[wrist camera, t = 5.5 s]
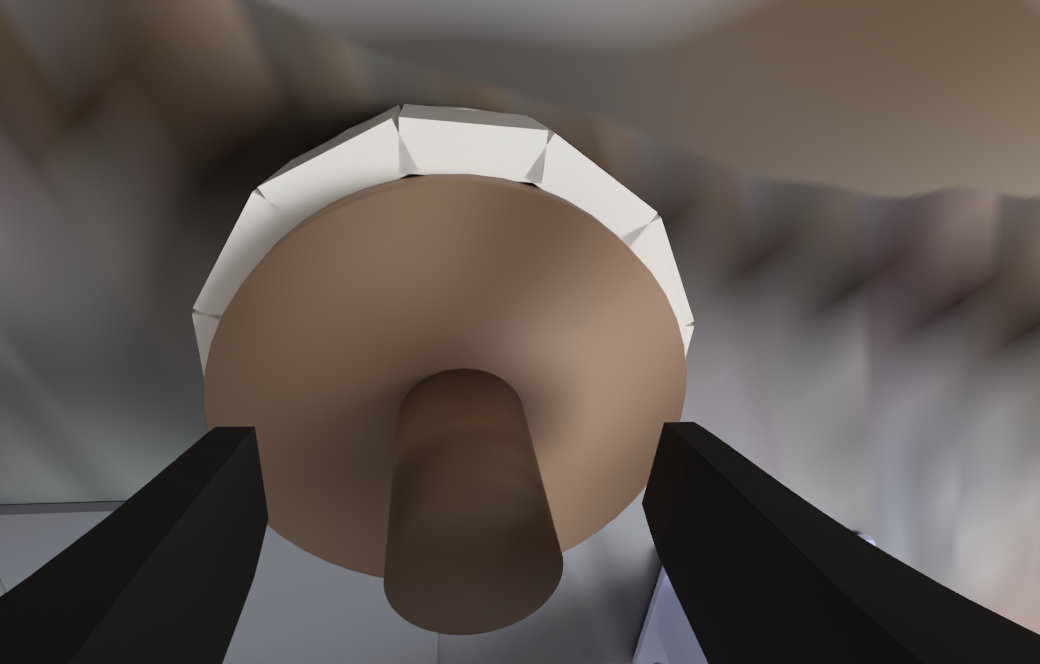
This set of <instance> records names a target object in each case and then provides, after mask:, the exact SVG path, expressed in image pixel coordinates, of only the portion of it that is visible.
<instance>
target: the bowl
mask: <svg viewBox="0 0 1040 664" xmlns="http://www.w3.org/2000/svg"><path fill="white" fill-rule="evenodd" d="M431 174H474V175H482V176H490V177H498V178H505V179H508V180H512V181H516V182H520V183H523V184H527V185H531V186H534V187H537V188H540V189H542V190H545V191H547V192H549V193H552V194H554V195H556V196H559V197H561V198H563V199H566V200H568V201H569V202H571V203H573V204H574V205H576V206H578V207H579V208H581V209H583V210H584V211H586V212H588V213H589V214H591V215H592V216H594V217H595V218H596V219H597V220H599V221H600V222H601V223H602V224H603V225H605V226H606V227H607V228H608V229H610V230H611V231H612V232H613V233H614V234H616V235H617V236H618V237H619V238H620V239H621V240H622V241H623V242H624V243H625V244H626V245H627V246H628V247H629V248H630V249H631V250H632V251H633V252H634V253H635V255H636V256H637V257H638V258H639V259H640V260H641V261H642V262H643V263H644V264H645V266H646V267H647V268H648V269H649V270H650V271H651V273H652V274H653V276H654V277H655V279H656V280H657V282H658V283H659V285H660V286H661V288H662V289H663V291H664V292H665V294H666V296H667V298H668V300H669V302H670V305H671V307H672V309H673V311H674V314H675V316H676V318H677V321H678V325H679V328H680V332H681V336H682V340H683V343H684V351H685V357H686V354H687V350H688V347H689V343H690V339H691V336H692V332H693V328H694V326H693V325H692V324H691V322H693V321H694V320H693V317H692V313H691V310H690V307H689V304H688V301H687V298H686V295H685V291H684V288H683V285H682V282H681V279H680V276H679V272H678V269H677V266H676V263H675V260H674V257H673V254H672V250H671V247H670V244H669V241H668V238H667V235H666V232H665V228H664V225H663V222H662V219H661V217H660V216H658V215H657V212H656V211H655V210H654V209H652V208H651V207H650V206H648V205H647V204H646V203H645V202H643V201H642V200H641V199H639V198H638V197H637V196H636V195H634V194H633V193H632V192H630V191H629V190H628V189H627V188H625V187H624V186H623V185H621V184H620V183H619V182H617V181H616V180H615V179H614V178H612V177H611V176H610V175H608V174H607V173H606V172H605V171H603V170H602V169H601V168H599V167H598V166H597V165H596V164H594V163H593V162H592V161H590V160H589V159H588V158H587V157H585V156H584V155H583V154H581V153H580V152H579V151H577V150H576V149H575V148H574V147H572V146H571V145H570V144H568V143H567V142H566V141H565V140H563V139H562V138H561V137H559V136H558V135H557V134H556V133H554V132H553V131H551V130H549V129H548V128H546V127H545V126H543V125H542V124H540V123H539V122H537V121H535V120H534V119H532V118H529V117H527V116H526V115H517V114H506V113H496V112H493V111H487V110H481V109H475V108H469V107H459V106H422V105H411V104H404V106H403V109H402V110H401V109H400V107H399V105H398V106H396V107H394V108H392V109H390V110H388V111H386V112H384V113H382V114H380V115H378V116H376V117H374V118H372V119H370V120H368V121H365V122H363V123H361V124H358V125H356V126H354V127H351V128H349V129H347V130H346V131H344V132H342V133H341V134H339V135H337V136H336V137H334V138H333V139H331V140H329V141H328V142H326V143H324V144H322V145H320V146H318V147H316V148H314V149H312V150H310V151H308V152H306V153H304V154H302V155H300V156H298V157H296V158H295V159H293V160H291V161H290V162H288V163H287V164H286V165H285V166H283V167H282V168H281V169H279V170H278V171H277V172H276V173H274V174H273V175H272V176H271V177H269V178H268V179H267V180H266V181H264V182H263V183H262V184H260V185H259V186H258V188H257V189H255V190H254V191H253V192H252V194H251V195H250V197H249V199H248V201H247V203H246V205H245V207H244V209H243V211H242V213H241V215H240V217H239V219H238V221H237V223H236V225H235V227H234V229H233V231H232V233H231V234H230V236H229V238H228V240H227V242H226V244H225V246H224V248H223V250H222V252H221V254H220V256H219V258H218V260H217V262H216V264H215V266H214V268H213V270H212V272H211V273H210V275H209V277H208V279H207V281H206V283H205V285H204V287H203V289H202V291H201V293H200V295H199V297H198V299H197V301H196V303H195V305H194V307H193V309H196V310H195V311H194V312H193V314H192V318H193V323H194V328H195V333H196V338H197V344H198V349H199V354H200V359H201V364H202V370H203V375H205V368H206V363H207V359H208V354H209V350H210V345H211V341H212V339H213V337H214V334H215V332H216V329H217V327H218V324H219V322H220V320H221V317H222V315H223V313H224V311H225V310H226V308H227V306H228V305H229V303H230V302H231V300H232V298H233V297H234V295H235V294H236V292H237V290H238V289H239V287H240V286H241V284H242V283H243V282H244V281H245V279H246V278H247V277H248V276H249V274H250V273H251V272H252V271H253V269H254V268H255V267H256V266H257V265H258V263H259V262H260V261H261V260H262V259H263V258H264V257H265V255H266V254H267V253H268V252H269V251H270V250H271V249H272V247H273V246H274V245H275V244H276V243H277V242H278V241H279V240H280V239H282V238H283V237H284V236H285V235H286V234H287V233H289V232H290V231H291V230H292V229H293V228H295V227H296V226H297V225H298V224H299V223H301V222H302V221H303V220H305V219H306V218H308V217H310V216H311V215H313V214H314V213H316V212H318V211H319V210H321V209H323V208H324V207H326V206H327V205H329V204H331V203H332V202H335V201H337V200H339V199H342V198H344V197H346V196H348V195H351V194H353V193H355V192H358V191H360V190H362V189H365V188H368V187H372V186H375V185H379V184H383V183H386V182H390V181H393V180H397V179H402V178H409V177H417V176H424V175H431Z"/></svg>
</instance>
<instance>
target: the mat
mask: <svg viewBox="0 0 1040 664" xmlns="http://www.w3.org/2000/svg"><path fill="white" fill-rule="evenodd" d="M124 502H126V501H124ZM124 502H93V503H62V504H31V505H0V579H1V581H2V583H3V585H4V587H5V589H6V591H7V592H8V591H9V590H11V589H12V588H13V587H15V586H16V585H18V584H19V583H20V582H22V581H23V580H25V579H26V578H27V577H29V576H30V575H31V574H33V573H34V572H35V571H37V570H38V569H39V568H41V567H42V566H43V565H45V564H46V563H47V562H49V561H50V560H51V559H52V558H54V557H55V556H56V555H58V554H59V553H60V552H62V551H63V550H64V549H66V548H67V547H68V546H70V545H71V544H72V543H74V542H75V541H76V540H77V539H79V538H80V537H81V536H83V535H84V534H85V533H87V532H88V531H89V530H91V529H92V528H93V527H95V526H96V525H97V524H99V523H100V522H101V521H102V520H104V519H105V518H106V517H107V516H109V515H110V514H111V513H112V512H113V511H115V510H116V509H117V508H118V507H120V506H121V505H122V504H123V503H124ZM383 582H384V578H380V577H374V576H370V575H367V574H363V573H359V572H355V571H351V570H348V569H345V568H343V567H340V566H337V565H334V564H332V563H329V562H326V561H324V560H322V559H320V558H318V557H316V556H314V555H312V554H310V553H308V552H306V551H304V550H302V549H300V548H299V547H297V546H296V545H294V544H292V543H291V542H289V541H288V540H286V539H285V538H283V537H282V536H280V535H279V534H278V533H276V532H275V531H274V530H273V529H272V528H270V527H269V526H268V525H267V527H266V532H265V536H264V540H263V545H262V549H261V553H260V557H259V561H258V565H257V569H256V573H255V577H254V580H253V583H252V585H251V588H250V591H249V594H248V596H247V599H246V602H245V604H244V607H243V610H242V613H241V615H240V618H239V621H238V623H237V626H236V629H235V631H234V634H233V637H232V639H231V642H230V645H229V647H228V650H227V653H226V655H225V658H224V661H223V663H222V664H437V657H438V637H439V633H436V632H431V631H428V630H425V629H422V628H419V627H417V626H415V625H413V624H411V623H409V622H408V621H406V620H404V619H403V618H402V617H401V616H399V615H398V614H397V613H396V612H395V610H394V609H393V608H392V607H391V605H390V604H389V602H388V600H387V598H386V595H385V592H384V585H383Z"/></svg>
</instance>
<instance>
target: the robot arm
mask: <svg viewBox="0 0 1040 664" xmlns="http://www.w3.org/2000/svg"><path fill="white" fill-rule="evenodd" d="M642 505H643V509H644V512H645V515H646V519H647V522H648V526H649V529H650V532H651V535H652V538H653V541H654V544H655V547H656V550H657V553H658V556H659V558H660V560H661V563H662V568H661V572H660V575H659V578H658V581H657V584H656V588H655V591H654V594H653V597H652V600H651V603H650V607H649V610H648V613H647V616H646V619H645V622H644V626H643V629H642V632H641V635H640V638H639V641H638V645H637V648H636V651H635V654H634V657H633V664H1040V635H1039V634H1037V633H1035V632H1033V631H1031V630H1028V629H1026V628H1024V627H1022V626H1021V625H1019V624H1017V623H1015V622H1013V621H1011V620H1009V619H1007V618H1005V617H1003V616H1001V615H999V614H997V613H995V612H993V611H991V610H989V609H987V608H985V607H983V606H981V605H979V604H977V603H975V602H973V601H971V600H969V599H967V598H965V597H964V596H962V595H960V594H958V593H956V592H954V591H952V590H951V589H949V588H947V587H945V586H943V585H941V584H939V583H938V582H936V581H934V580H932V579H931V578H929V577H927V576H925V575H924V574H922V573H920V572H918V571H917V570H915V569H913V568H912V567H910V566H908V565H906V564H905V563H903V562H901V561H899V560H898V559H896V558H894V557H892V556H891V555H889V554H887V553H886V552H884V551H882V550H881V549H879V548H877V547H876V546H875V545H876V544H875V542H874V541H873V539H872V538H871V537H870V536H868V535H865V534H860V535H857V534H855V533H854V532H852V531H851V530H849V529H848V528H846V527H844V526H843V525H841V524H840V523H838V522H837V521H835V520H834V519H832V518H831V517H829V516H828V515H826V514H825V513H823V512H822V511H820V510H819V509H817V508H816V507H814V506H813V505H811V504H810V503H808V502H807V501H805V500H804V499H803V498H801V497H800V496H798V495H797V494H795V493H794V492H793V491H791V490H790V489H788V488H787V487H786V486H784V485H783V484H781V483H780V482H779V481H777V480H776V479H774V478H773V477H772V476H770V475H769V474H767V473H766V472H765V471H763V470H762V469H760V468H759V467H758V466H756V465H755V464H754V463H752V462H751V461H749V460H748V459H747V458H745V457H744V456H743V455H741V454H740V453H738V452H737V451H736V450H734V449H733V448H732V447H730V446H729V445H727V444H726V443H725V442H723V441H722V440H720V439H719V438H718V437H716V436H715V435H713V434H712V433H710V432H709V431H707V430H706V429H704V428H703V427H701V426H700V425H698V424H696V423H695V422H664V424H663V428H662V431H661V435H660V439H659V442H658V446H657V450H656V454H655V457H654V461H653V465H652V468H651V472H650V476H649V479H648V483H647V487H646V490H645V494H644V498H643V502H642ZM268 519H269V517H268V510H267V504H266V497H265V490H264V484H263V477H262V470H261V463H260V457H259V450H258V443H257V437H256V430H255V426H247V427H214V428H213V429H212V430H211V431H209V432H208V433H207V434H206V435H204V436H203V437H202V438H201V439H200V440H198V441H197V442H196V443H195V444H194V445H192V446H191V447H190V448H189V449H188V450H187V451H185V452H184V453H183V454H182V455H181V456H179V457H178V458H177V459H176V460H175V461H174V462H172V463H171V464H170V465H169V466H168V467H167V468H165V469H164V470H163V471H162V472H161V473H159V474H158V475H157V476H156V477H155V478H153V479H152V480H151V481H150V482H149V483H148V484H146V485H145V486H144V487H143V488H142V489H140V490H139V491H138V492H137V493H135V494H134V495H133V496H132V497H131V498H129V499H128V500H127V501H126V502H124V503H123V504H122V505H121V506H120V507H118V508H117V509H116V510H115V511H113V512H112V513H111V514H110V515H109V516H107V517H106V518H105V519H104V520H102V521H101V522H100V523H99V524H97V525H96V526H95V527H93V528H92V529H91V530H89V531H88V532H87V533H85V534H84V535H83V536H81V537H80V538H79V539H77V540H76V541H75V542H74V543H72V544H71V545H70V546H68V547H67V548H66V549H64V550H63V551H62V552H60V553H59V554H58V555H56V556H55V557H54V558H52V559H51V560H50V561H49V562H47V563H46V564H45V565H43V566H42V567H41V568H39V569H38V570H37V571H35V572H34V573H33V574H31V575H30V576H29V577H27V578H26V579H25V580H23V581H22V582H20V583H19V584H18V585H16V586H15V587H13V588H12V589H11V590H9V591H8V592H6V593H5V594H4V595H2V596H1V597H0V664H222V663H223V661H224V658H225V655H226V653H227V650H228V647H229V645H230V642H231V639H232V637H233V634H234V631H235V629H236V626H237V623H238V621H239V618H240V615H241V613H242V610H243V607H244V604H245V602H246V599H247V596H248V594H249V591H250V588H251V585H252V583H253V580H254V577H255V573H256V569H257V565H258V561H259V557H260V553H261V549H262V545H263V540H264V536H265V532H266V527H267V523H268Z"/></svg>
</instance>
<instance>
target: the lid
mask: <svg viewBox="0 0 1040 664" xmlns="http://www.w3.org/2000/svg"><path fill="white" fill-rule="evenodd" d="M685 390H686V360H685V351H684V343H683V340H682V336H681V332H680V328H679V325H678V321H677V318H676V316H675V314H674V311H673V309H672V307H671V305H670V302H669V300H668V298H667V296H666V294H665V292H664V291H663V289H662V288H661V286H660V285H659V283H658V282H657V280H656V279H655V277H654V276H653V274H652V273H651V271H650V270H649V269H648V268H647V267H646V266H645V264H644V263H643V262H642V261H641V260H640V259H639V258H638V257H637V256H636V255H635V253H634V252H633V251H632V250H631V249H630V248H629V247H628V246H627V245H626V244H625V243H624V242H623V241H622V240H621V239H620V238H619V237H618V236H617V235H616V234H614V233H613V232H612V231H611V230H610V229H608V228H607V227H606V226H605V225H603V224H602V223H601V222H600V221H599V220H597V219H596V218H595V217H594V216H592V215H591V214H589V213H588V212H586V211H584V210H583V209H581V208H579V207H578V206H576V205H574V204H573V203H571V202H569V201H568V200H566V199H563V198H561V197H559V196H556V195H554V194H552V193H549V192H547V191H545V190H542V189H540V188H537V187H534V186H531V185H527V184H523V183H520V182H516V181H512V180H508V179H505V178H498V177H490V176H482V175H474V174H431V175H424V176H417V177H409V178H402V179H397V180H393V181H390V182H386V183H383V184H379V185H375V186H372V187H368V188H365V189H362V190H360V191H358V192H355V193H353V194H351V195H348V196H346V197H344V198H342V199H339V200H337V201H335V202H332V203H331V204H329V205H327V206H326V207H324V208H323V209H321V210H319V211H318V212H316V213H314V214H313V215H311V216H310V217H308V218H306V219H305V220H303V221H302V222H301V223H299V224H298V225H297V226H296V227H295V228H293V229H292V230H291V231H290V232H289V233H287V234H286V235H285V236H284V237H283V238H282V239H280V240H279V241H278V242H277V243H276V244H275V245H274V246H273V247H272V249H271V250H270V251H269V252H268V253H267V254H266V255H265V257H264V258H263V259H262V260H261V261H260V262H259V263H258V265H257V266H256V267H255V268H254V269H253V271H252V272H251V273H250V274H249V276H248V277H247V278H246V279H245V281H244V282H243V283H242V284H241V286H240V287H239V289H238V290H237V292H236V294H235V295H234V297H233V298H232V300H231V302H230V303H229V305H228V306H227V308H226V310H225V311H224V313H223V315H222V317H221V320H220V322H219V324H218V327H217V329H216V332H215V334H214V337H213V339H212V341H211V345H210V350H209V354H208V359H207V363H206V368H205V375H204V397H203V401H204V409H205V417H206V424H207V430H208V432H209V431H211V430H212V429H213V428H214V427H247V426H255V430H256V437H257V443H258V450H259V457H260V463H261V470H262V477H263V484H264V490H265V497H266V504H267V510H268V517H269V519H268V523H267V525H268V526H269V527H270V528H272V529H273V530H274V531H275V532H276V533H278V534H279V535H280V536H282V537H283V538H285V539H286V540H288V541H289V542H291V543H292V544H294V545H296V546H297V547H299V548H300V549H302V550H304V551H306V552H308V553H310V554H312V555H314V556H316V557H318V558H320V559H322V560H324V561H326V562H329V563H332V564H334V565H337V566H340V567H343V568H345V569H348V570H351V571H355V572H359V573H363V574H367V575H370V576H374V577H380V578H384V582H383V585H384V592H385V595H386V598H387V600H388V602H389V604H390V605H391V607H392V608H393V609H394V610H395V612H396V613H397V614H398V615H399V616H401V617H402V618H403V619H404V620H406V621H408V622H409V623H411V624H413V625H415V626H417V627H419V628H422V629H425V630H428V631H431V632H436V633H441V634H449V635H472V634H479V633H485V632H490V631H494V630H497V629H501V628H504V627H507V626H509V625H512V624H514V623H516V622H518V621H520V620H522V619H524V618H526V617H527V616H529V615H530V614H532V613H533V612H535V611H536V610H537V609H539V608H540V607H541V606H542V605H543V604H544V603H545V602H546V601H547V600H548V599H549V598H550V596H551V595H552V594H553V592H554V591H555V589H556V588H557V586H558V584H559V581H560V579H561V575H562V572H563V556H562V552H564V551H566V550H568V549H570V548H572V547H574V546H576V545H577V544H579V543H581V542H582V541H584V540H585V539H587V538H589V537H590V536H592V535H593V534H595V533H596V532H598V531H599V530H600V529H602V528H603V527H604V526H605V525H607V524H608V523H609V522H611V521H612V520H613V519H615V518H616V517H617V516H618V515H619V514H620V513H621V512H622V511H623V510H624V509H625V508H626V507H627V506H628V505H629V504H630V503H631V502H633V500H634V499H635V498H636V497H637V496H638V495H639V493H640V492H641V491H642V490H643V489H644V487H645V486H646V485H647V483H648V479H649V476H650V472H651V468H652V465H653V461H654V457H655V454H656V450H657V446H658V442H659V439H660V435H661V431H662V428H663V424H664V422H679V421H680V418H681V414H682V409H683V403H684V398H685Z"/></svg>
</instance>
